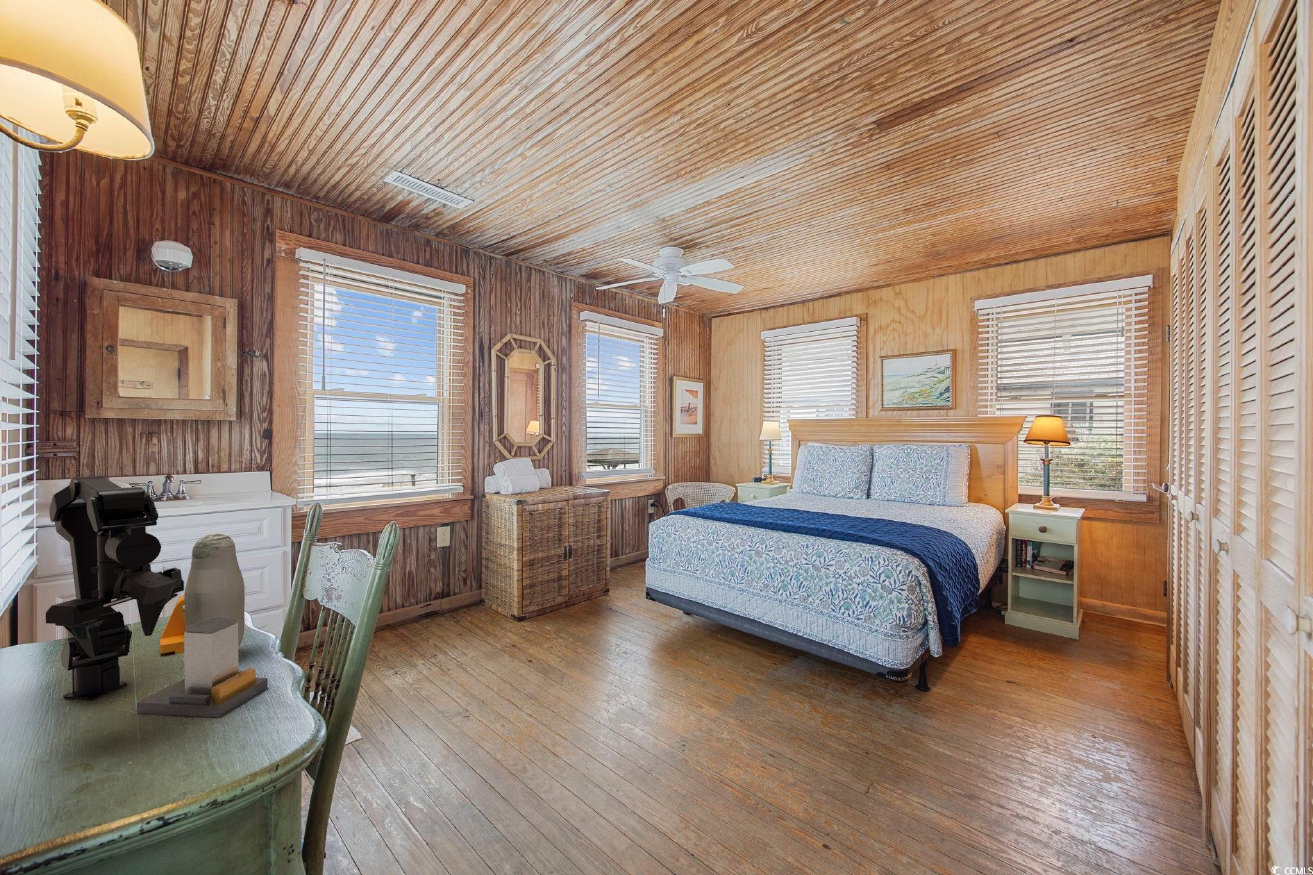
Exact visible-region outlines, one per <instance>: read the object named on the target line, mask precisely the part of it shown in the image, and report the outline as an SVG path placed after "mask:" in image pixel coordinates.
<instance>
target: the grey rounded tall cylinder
mask: <svg viewBox="0 0 1313 875" xmlns="http://www.w3.org/2000/svg"><path fill="white" fill-rule="evenodd" d="M190 562H191V563H190V568H189V572H188V576H187V581H186V584H185V587H184V594H183V595H184V606H183V608H184V609H185V632H187V626H190V625H193V624H195V623H198V622H201V621H203V620H206V619H208V618H211V617H217V618H235V623H238V648H239V647H240V645H241V644H242V642H243V640H244V635H245V604H246V602H245V600H246V597H245V594H246V593H245V590H246V589H245V588H246V587H245V582H244V581H245V580H244V577H243V573H242V571H241V569H240V566H239V565H240V564H239V562H238V557H237V552H236V543H235V542H234V540H233V539H232V538H231V536H229V535H227V534H224V533H223V534H222V533H214V534H208V535H205V536H203V537H201V538H199V539H198V540H197V541H196V542H195V543H194V545H193V547H192V550H191V561H190Z"/></svg>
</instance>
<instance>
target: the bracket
mask: <svg viewBox="0 0 1313 875" xmlns="http://www.w3.org/2000/svg"><path fill="white" fill-rule="evenodd" d="M184 632H185V608H184V594H183V595H181V596H180V597H179V598H178V599H177V601H176V603H175V605H174V607H173V609H172V611H171V614H170V617H169V619H168V620H167V623H166V625H165V627H164V630H163V631H162V633H161V636H160V641H159V653H160V654H167V653H171V652H174V654H175V655H179V654H184V653H183V652H184ZM178 653H179V654H178Z"/></svg>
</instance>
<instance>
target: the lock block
mask: <svg viewBox="0 0 1313 875" xmlns="http://www.w3.org/2000/svg"><path fill="white" fill-rule="evenodd" d="M183 654H184V655H183V657H184V664H183V665H184V679H185V694H192V695H210V698H212V688H213V687H215V686H216V685H218V684H220V683H222V682H224V681H226V680H228V679H229V678H231V677H233V676H235V675H237V674H239V672H240V671H239V647H238V623H235V618H217V617H211V618H208V619H206V620H203V621H201V622H198V623H195V624H193V625H190V626H187V632H184V653H183Z"/></svg>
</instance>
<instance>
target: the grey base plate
mask: <svg viewBox="0 0 1313 875" xmlns="http://www.w3.org/2000/svg"><path fill="white" fill-rule="evenodd" d="M256 672H257V671H256V668H246V669H245V670H243V671H239V674H237V675H235V676H233V677H231V678H229V679H228V680H226V681H224V682H222V683H220V684H218V685H216V686H215V687H213V688H212V698H210V695H192V694H185V678H184V679H182V680H179V681H177V682H174V684H171V685H169V686H168V687H165V688H164V689H161V690H159V691H157V692H155V693H153V694H152V695H149V696H147V697H144V698H143V699H141V700H139V701H136V714H141V715H142V714H143V715H144V714H145V715H162V716H165V715H166V716H181V717H182V716H183V717H185V716H186V717H200V718H201V717H202V718H221V717H222V716H224V715H226V714H227V713H229V712H230V711H232V710H234V709H236V708H237V707H240V705H241V706H242V704H243V703H246V702H247V701H249V700H250V699H252V698H253V697H256V696H257V695H258V694H260V693H261V692H264V691H265V690H266V689H268V678H267V677H256V675H257V673H256Z"/></svg>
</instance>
